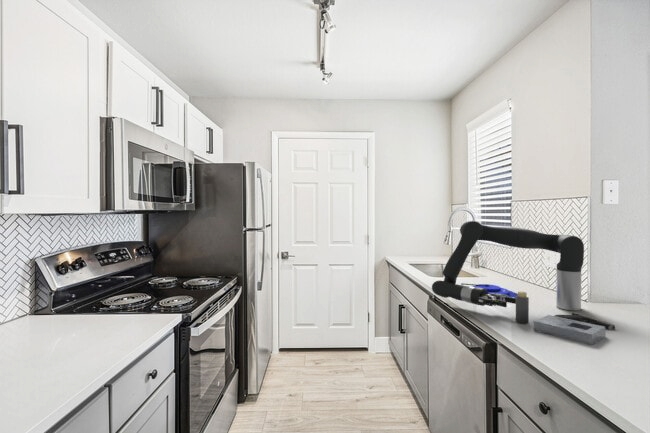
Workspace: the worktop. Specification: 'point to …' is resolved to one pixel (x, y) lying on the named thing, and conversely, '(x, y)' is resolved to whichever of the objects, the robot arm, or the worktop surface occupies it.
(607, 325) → the handgun
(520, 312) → the plug
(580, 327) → the housing
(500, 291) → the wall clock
